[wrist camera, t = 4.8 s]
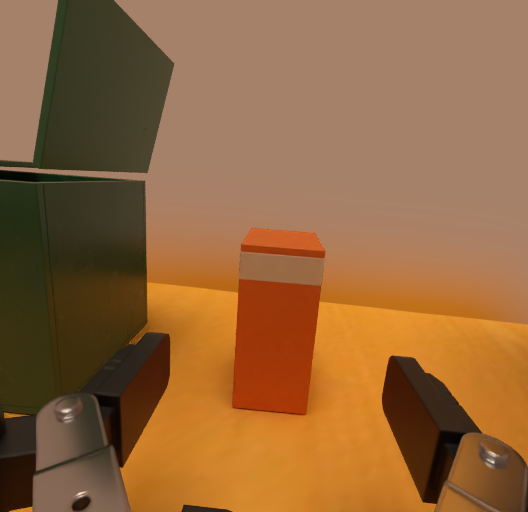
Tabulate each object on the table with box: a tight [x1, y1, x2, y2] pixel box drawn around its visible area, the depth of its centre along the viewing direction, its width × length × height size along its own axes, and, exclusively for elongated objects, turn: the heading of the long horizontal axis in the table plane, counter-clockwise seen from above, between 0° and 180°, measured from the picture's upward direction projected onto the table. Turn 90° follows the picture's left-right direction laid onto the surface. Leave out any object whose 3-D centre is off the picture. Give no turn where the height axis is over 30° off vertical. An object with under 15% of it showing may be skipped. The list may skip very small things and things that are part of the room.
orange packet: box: [232, 228, 325, 415], centre depth 21 cm, size 4×6×10 cm
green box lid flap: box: [32, 0, 174, 173], centre depth 19 cm, size 8×12×1 cm
